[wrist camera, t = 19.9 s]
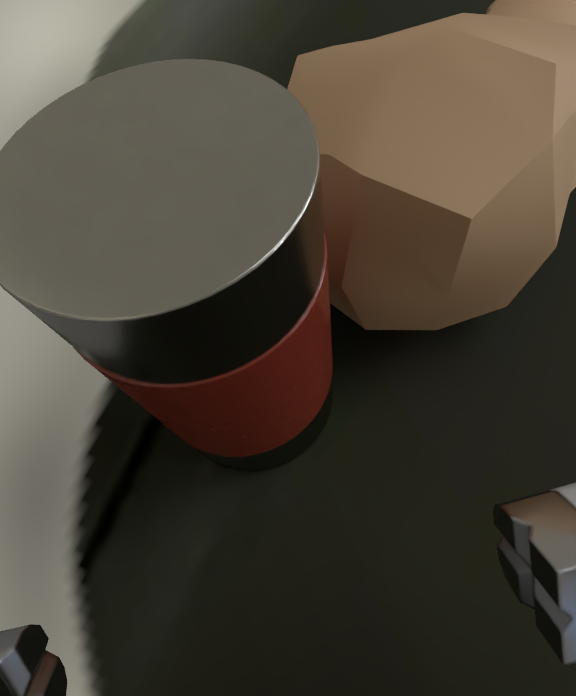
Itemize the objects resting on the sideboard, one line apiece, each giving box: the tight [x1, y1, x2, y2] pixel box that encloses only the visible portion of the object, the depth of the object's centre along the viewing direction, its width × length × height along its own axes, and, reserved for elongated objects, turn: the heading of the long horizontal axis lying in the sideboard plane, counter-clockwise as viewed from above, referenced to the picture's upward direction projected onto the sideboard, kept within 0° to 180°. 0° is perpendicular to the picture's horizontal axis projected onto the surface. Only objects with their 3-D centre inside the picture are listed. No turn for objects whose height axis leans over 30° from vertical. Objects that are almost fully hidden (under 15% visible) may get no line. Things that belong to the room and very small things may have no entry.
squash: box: [287, 0, 576, 330], centre depth 18 cm, size 11×20×9 cm, turn 147°
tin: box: [0, 59, 333, 471], centre depth 13 cm, size 6×6×11 cm
